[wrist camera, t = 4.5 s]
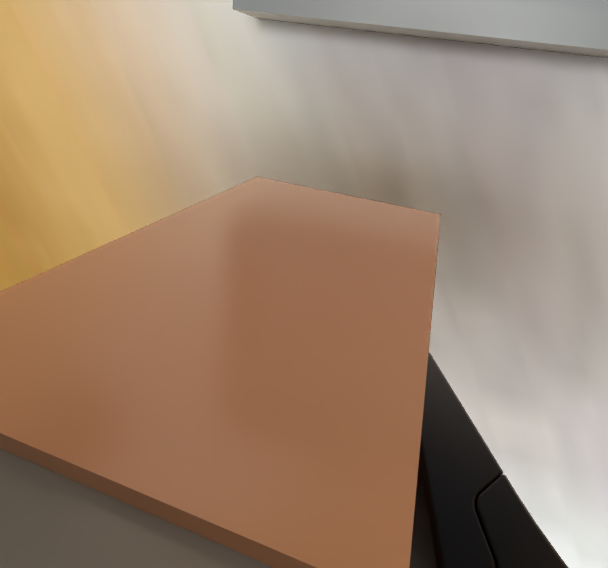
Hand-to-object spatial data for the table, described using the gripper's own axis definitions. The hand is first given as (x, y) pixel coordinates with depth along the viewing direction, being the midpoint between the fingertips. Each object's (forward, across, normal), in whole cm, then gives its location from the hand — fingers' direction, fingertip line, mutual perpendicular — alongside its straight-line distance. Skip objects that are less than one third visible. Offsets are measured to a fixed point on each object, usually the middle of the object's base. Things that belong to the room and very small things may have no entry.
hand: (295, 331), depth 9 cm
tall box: (+3, 0, 0) cm, 3 cm away
